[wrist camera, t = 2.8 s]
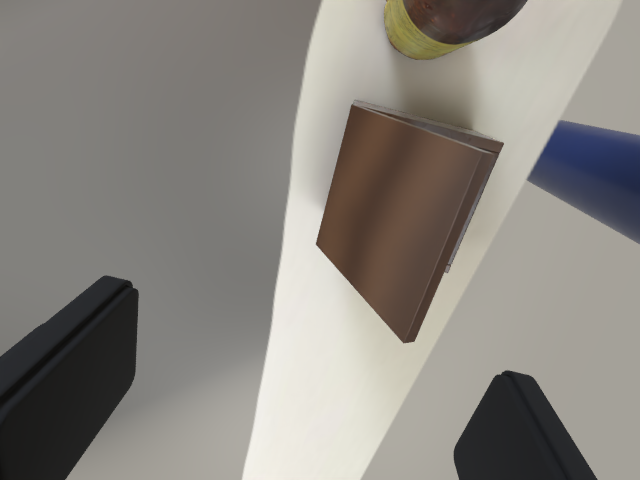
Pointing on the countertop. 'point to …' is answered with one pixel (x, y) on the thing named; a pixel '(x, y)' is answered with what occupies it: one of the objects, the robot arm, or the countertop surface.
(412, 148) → the hatch
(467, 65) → the countertop surface
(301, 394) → the countertop surface
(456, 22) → the sauce bottle
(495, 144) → the walnut box
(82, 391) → the robot arm
